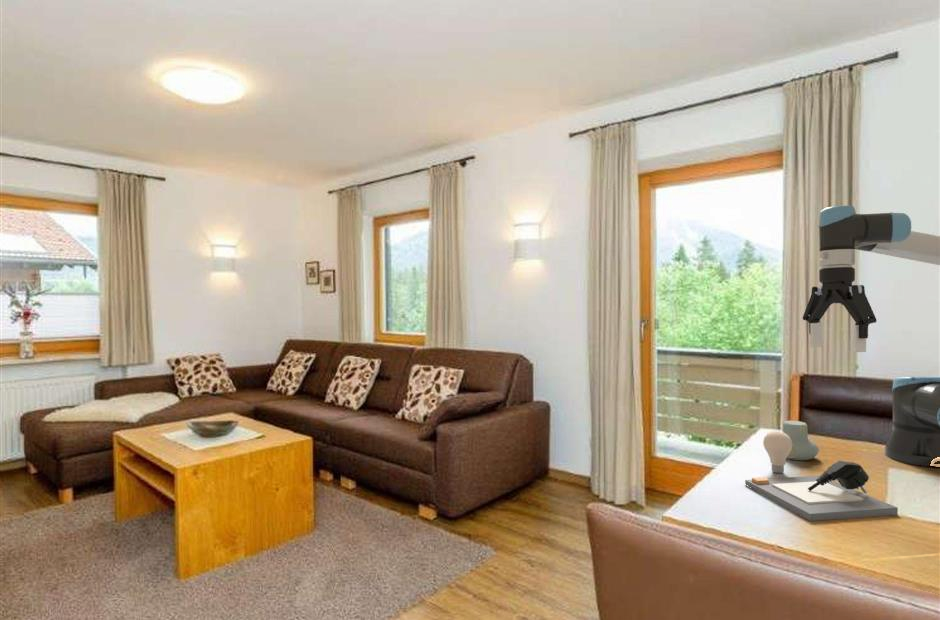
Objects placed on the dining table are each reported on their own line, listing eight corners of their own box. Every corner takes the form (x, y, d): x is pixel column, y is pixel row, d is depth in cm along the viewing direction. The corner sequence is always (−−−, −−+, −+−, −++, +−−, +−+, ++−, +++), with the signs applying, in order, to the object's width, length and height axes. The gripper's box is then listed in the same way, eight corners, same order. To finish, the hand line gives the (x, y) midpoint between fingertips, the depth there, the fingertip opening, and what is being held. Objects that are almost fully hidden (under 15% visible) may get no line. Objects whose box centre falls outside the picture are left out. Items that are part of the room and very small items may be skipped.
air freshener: (824, 461, 142) (824, 425, 142) (804, 465, 139) (804, 428, 139) (787, 451, 152) (786, 417, 152) (767, 454, 149) (767, 420, 149)
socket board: (820, 481, 127) (820, 472, 127) (897, 514, 107) (897, 503, 107) (745, 486, 124) (745, 476, 124) (809, 521, 105) (809, 509, 105)
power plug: (799, 482, 119) (843, 452, 118) (819, 509, 118) (864, 479, 118) (814, 491, 113) (860, 459, 112) (835, 519, 113) (882, 488, 112)
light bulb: (795, 473, 133) (795, 430, 133) (789, 479, 128) (789, 435, 128) (766, 467, 138) (766, 426, 138) (760, 473, 133) (759, 431, 133)
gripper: (787, 270, 145) (788, 345, 146) (866, 263, 120) (866, 354, 121) (812, 270, 146) (812, 345, 146) (895, 263, 121) (895, 353, 122)
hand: (836, 349), depth 134 cm, fingers open, 13 cm apart
